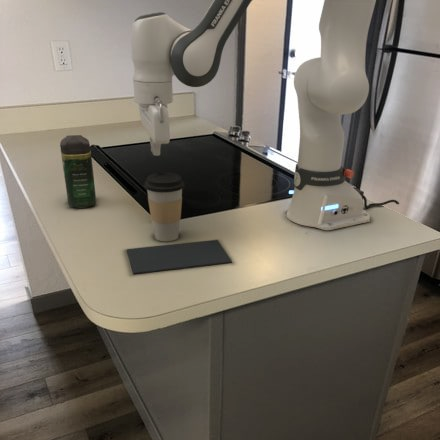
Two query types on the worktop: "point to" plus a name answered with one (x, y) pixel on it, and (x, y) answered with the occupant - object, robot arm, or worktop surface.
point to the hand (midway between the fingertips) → (155, 154)
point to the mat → (177, 256)
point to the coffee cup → (165, 204)
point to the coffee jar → (78, 171)
